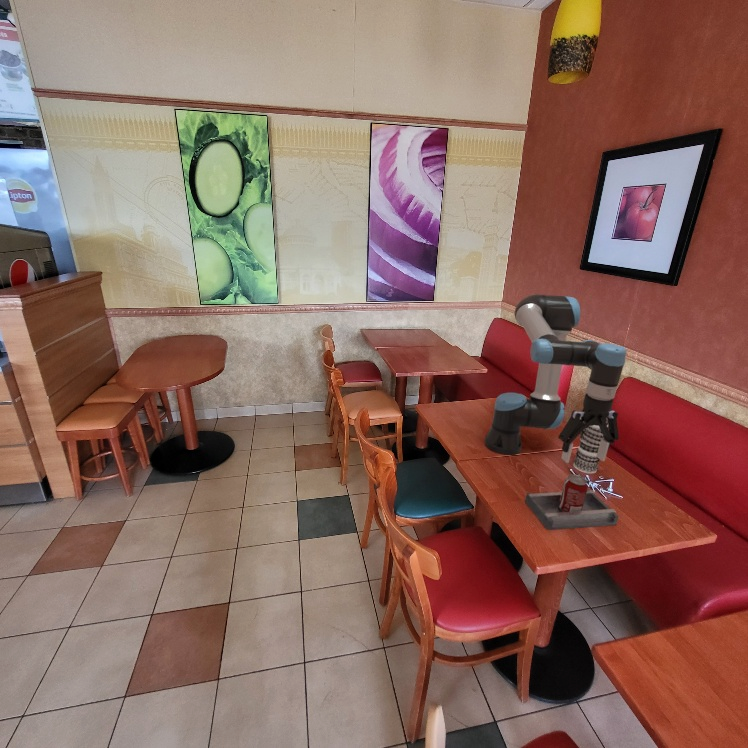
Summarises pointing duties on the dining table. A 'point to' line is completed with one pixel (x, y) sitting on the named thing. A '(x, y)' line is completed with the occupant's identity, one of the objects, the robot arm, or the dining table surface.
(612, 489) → the dining table surface
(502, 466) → the dining table surface
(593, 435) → the decorative candle
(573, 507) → the soda can
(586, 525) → the tray
